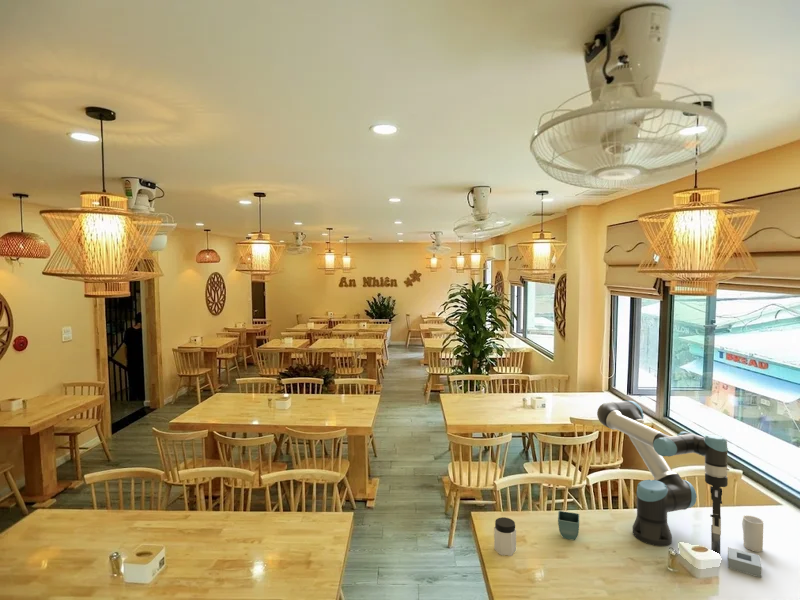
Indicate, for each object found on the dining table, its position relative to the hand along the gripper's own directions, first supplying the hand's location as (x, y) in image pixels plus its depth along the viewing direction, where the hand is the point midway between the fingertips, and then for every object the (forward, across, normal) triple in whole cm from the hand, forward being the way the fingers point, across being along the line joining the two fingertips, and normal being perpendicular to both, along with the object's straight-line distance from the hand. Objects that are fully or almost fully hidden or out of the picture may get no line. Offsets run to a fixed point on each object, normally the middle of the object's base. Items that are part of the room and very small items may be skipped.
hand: (716, 526), depth 180 cm
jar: (+12, -46, +72) cm, 86 cm away
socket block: (+12, -3, -9) cm, 15 cm away
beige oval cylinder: (+12, +17, -12) cm, 24 cm away
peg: (+12, 0, 0) cm, 12 cm away
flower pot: (+12, -20, +53) cm, 58 cm away
